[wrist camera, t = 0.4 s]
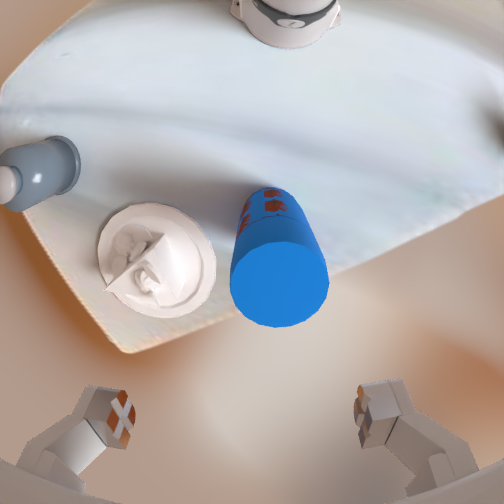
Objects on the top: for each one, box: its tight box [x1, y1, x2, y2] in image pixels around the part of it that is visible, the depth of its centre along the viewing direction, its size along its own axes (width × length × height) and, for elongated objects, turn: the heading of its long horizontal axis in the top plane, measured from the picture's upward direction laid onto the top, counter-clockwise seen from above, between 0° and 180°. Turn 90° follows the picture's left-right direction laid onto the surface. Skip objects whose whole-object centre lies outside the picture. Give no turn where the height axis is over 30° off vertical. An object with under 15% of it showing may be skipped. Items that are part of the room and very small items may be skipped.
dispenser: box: [0, 136, 81, 212], centre depth 44 cm, size 12×12×18 cm
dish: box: [97, 202, 216, 318], centre depth 55 cm, size 25×25×11 cm
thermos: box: [230, 188, 329, 328], centre depth 44 cm, size 11×11×25 cm
